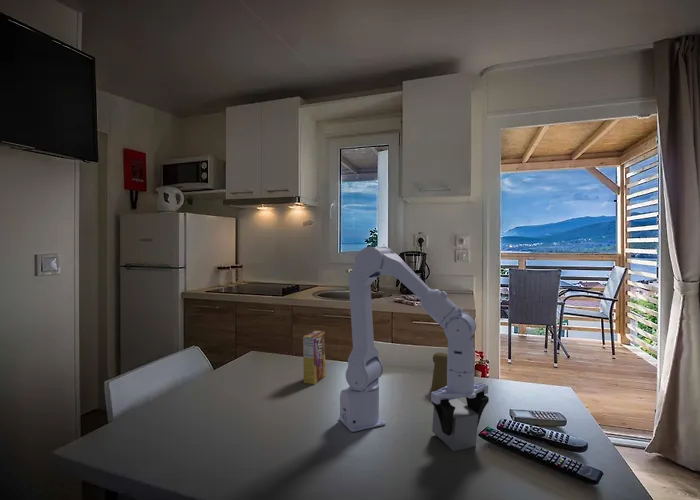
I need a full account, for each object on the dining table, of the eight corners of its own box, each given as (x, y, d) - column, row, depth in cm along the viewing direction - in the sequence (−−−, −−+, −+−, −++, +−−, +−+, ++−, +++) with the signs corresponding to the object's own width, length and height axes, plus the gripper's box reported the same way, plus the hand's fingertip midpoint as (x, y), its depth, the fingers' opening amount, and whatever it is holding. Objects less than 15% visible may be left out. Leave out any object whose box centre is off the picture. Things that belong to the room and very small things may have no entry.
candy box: (314, 374, 131) (314, 330, 131) (325, 376, 129) (326, 331, 129) (302, 383, 122) (302, 335, 122) (314, 384, 121) (314, 337, 121)
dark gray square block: (453, 451, 82) (456, 418, 81) (432, 431, 89) (434, 401, 88) (475, 446, 84) (478, 414, 83) (453, 426, 91) (455, 397, 91)
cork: (428, 390, 117) (429, 354, 117) (434, 383, 122) (434, 349, 122) (448, 393, 114) (448, 357, 114) (453, 387, 120) (453, 352, 119)
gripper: (446, 379, 78) (445, 445, 78) (498, 369, 84) (498, 431, 84) (425, 369, 84) (424, 430, 84) (475, 360, 90) (475, 418, 90)
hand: (460, 429), depth 84 cm, fingers open, 7 cm apart
